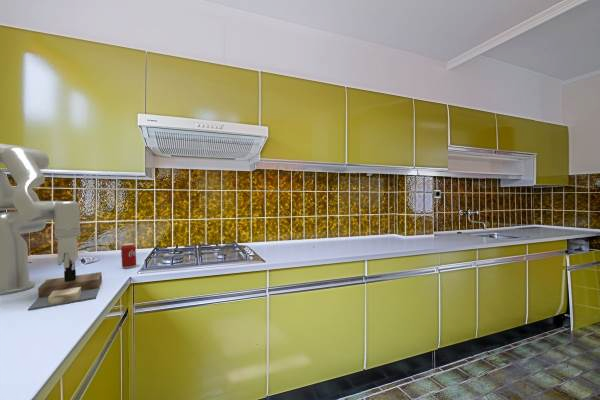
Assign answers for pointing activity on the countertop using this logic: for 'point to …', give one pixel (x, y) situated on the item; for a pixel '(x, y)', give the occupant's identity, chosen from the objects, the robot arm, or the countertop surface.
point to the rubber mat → (83, 297)
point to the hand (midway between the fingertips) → (70, 280)
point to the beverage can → (128, 255)
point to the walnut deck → (70, 284)
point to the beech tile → (64, 295)
